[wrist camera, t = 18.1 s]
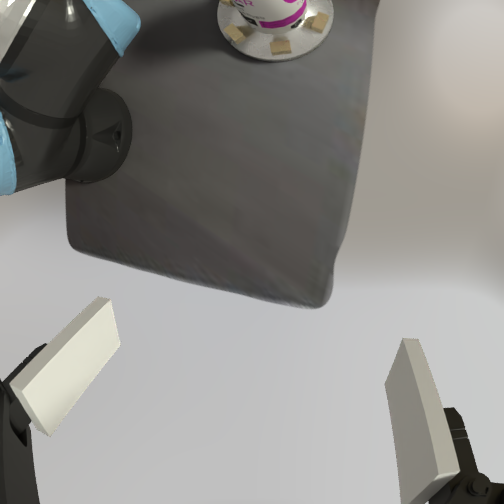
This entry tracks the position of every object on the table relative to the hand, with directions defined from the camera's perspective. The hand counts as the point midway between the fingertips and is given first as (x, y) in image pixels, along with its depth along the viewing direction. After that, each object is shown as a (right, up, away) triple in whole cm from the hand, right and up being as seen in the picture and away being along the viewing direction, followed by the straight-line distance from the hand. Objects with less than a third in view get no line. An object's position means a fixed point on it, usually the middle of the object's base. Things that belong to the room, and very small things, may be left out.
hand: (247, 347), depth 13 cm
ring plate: (+3, +35, +19) cm, 40 cm away
